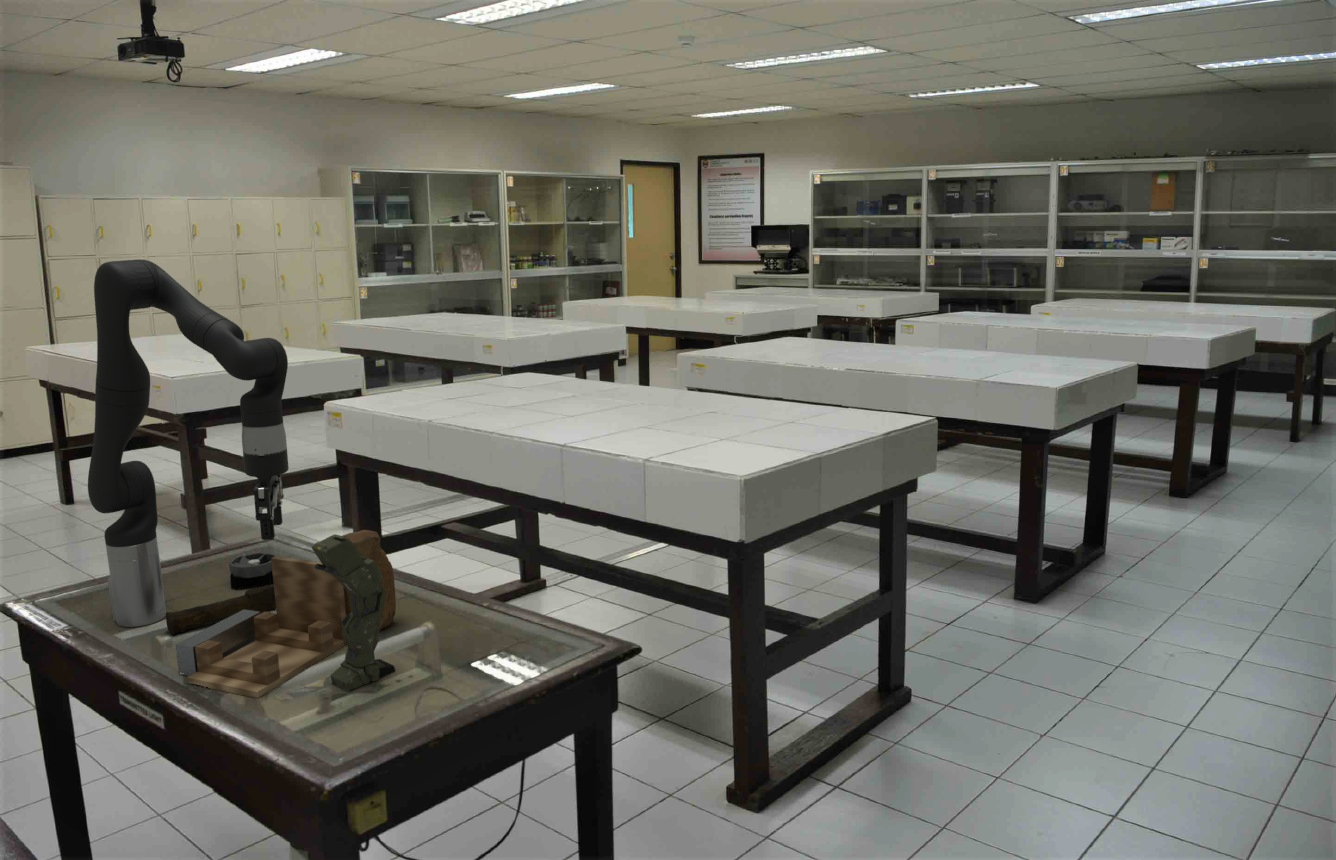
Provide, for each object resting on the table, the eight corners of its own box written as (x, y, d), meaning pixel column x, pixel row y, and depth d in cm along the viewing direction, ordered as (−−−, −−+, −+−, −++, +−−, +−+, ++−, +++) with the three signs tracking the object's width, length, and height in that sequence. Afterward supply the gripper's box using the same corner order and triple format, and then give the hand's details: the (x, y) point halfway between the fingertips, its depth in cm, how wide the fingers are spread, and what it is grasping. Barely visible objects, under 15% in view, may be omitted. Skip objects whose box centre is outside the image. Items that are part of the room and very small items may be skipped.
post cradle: (187, 683, 172) (176, 599, 169) (283, 632, 193) (275, 556, 190) (257, 698, 166) (248, 611, 163) (348, 643, 188) (341, 565, 184)
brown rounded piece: (351, 641, 189) (343, 544, 184) (334, 630, 194) (325, 535, 190) (402, 625, 196) (395, 531, 192) (384, 615, 201) (376, 523, 197)
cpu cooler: (274, 563, 217) (225, 568, 214) (277, 587, 218) (228, 593, 215) (277, 549, 227) (231, 554, 224) (280, 572, 228) (233, 577, 225)
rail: (179, 675, 176) (175, 644, 175) (246, 637, 192) (243, 609, 190) (196, 678, 175) (192, 647, 173) (263, 640, 190) (260, 611, 189)
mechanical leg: (392, 651, 182) (348, 518, 171) (414, 661, 178) (371, 525, 167) (333, 692, 173) (282, 554, 162) (355, 703, 169) (304, 563, 158)
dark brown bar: (170, 639, 191) (167, 613, 190) (166, 631, 195) (162, 605, 194) (288, 612, 204) (286, 587, 203) (282, 605, 208) (279, 580, 207)
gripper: (250, 440, 183) (258, 521, 186) (234, 458, 169) (243, 545, 173) (292, 438, 185) (299, 519, 188) (280, 456, 171) (287, 543, 174)
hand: (272, 531), depth 180 cm, fingers open, 8 cm apart
